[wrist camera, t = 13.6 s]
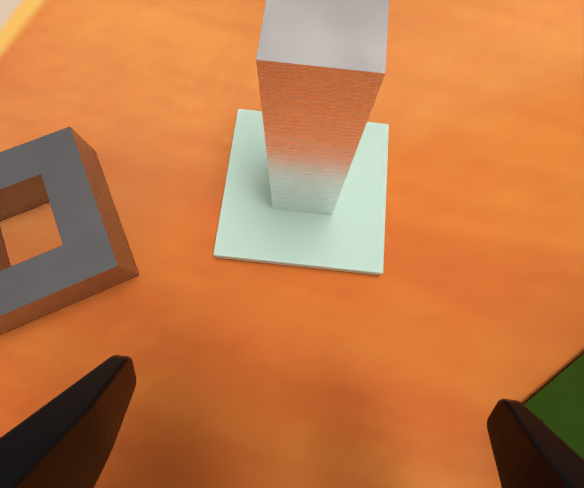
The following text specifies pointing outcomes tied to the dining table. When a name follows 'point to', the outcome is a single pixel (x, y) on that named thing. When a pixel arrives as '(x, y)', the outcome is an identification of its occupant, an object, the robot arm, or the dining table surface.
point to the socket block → (60, 228)
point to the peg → (317, 93)
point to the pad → (298, 225)
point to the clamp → (563, 405)
